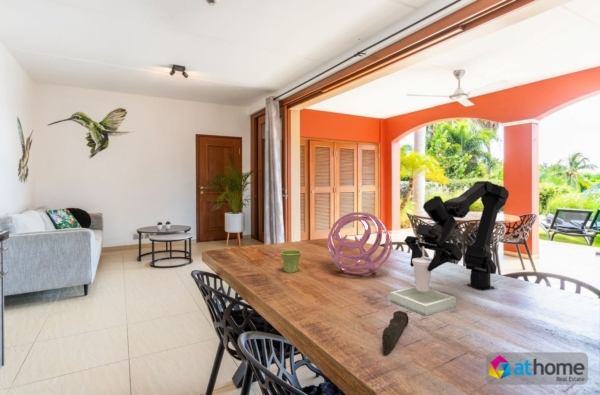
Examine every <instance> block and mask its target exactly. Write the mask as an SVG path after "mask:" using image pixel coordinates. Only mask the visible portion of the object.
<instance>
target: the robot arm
mask: <svg viewBox="0 0 600 395" xmlns="http://www.w3.org/2000/svg"><path fill="white" fill-rule="evenodd" d="M509 193H510V192H509V190H507V188H506V187H505V186H501V185H498V184H496V183H493V182H491V181H489V180H484V181H483V180H481V181H479V180H478V181H475V182H474V183H473V185H471V187H469V188H468V189H467V190H466V191H464V192H463V193H461V194H460V195H459V196H457V197H453V198H449V199H447V200H445V201H443V198H442V197H441V196H440V195H438V196H437V195H435V196H434V197H433V198H430V199H428V200H427V201H426V202H424V203H423V204H422V205H423V207H422V209H423V210H424V211H425V212H426V214H427V216H428V217H429V218H430V220H432V221H433V222H435V223H434V224H433V225H430V224H422V223H418V225H417V228H416V231H415V234H417V235H420V236H421V239H422V240H423V241H421V240H420V239H419V238H418V236H414V235H413V236H412V235H407V236H406V238H405V239H404V243H405V244H406V245H407V248H409V249H410V250H411V257H410V267H413V268H414V266H413V263H412V259H414V258H423V246H424V250H425V249H426V250H430V251H434V252H435V253H434V256H433V258H431V260H432V261H431V263H430V264H429V267H428V271H431V272H432V271H433V270H435V269H436V268H438V267H440V266H442V265H445V264H446V263H448V262H452V261H458V262H461V260H462V258H463V259H464V265H465V268H466V269H467V270H470V275H469V276H470V278H469V280H470V282H469V283H467V285H466V286H468V287H471V288H474V289H476V290H480V291H485V290H490V289H492V290H493V289H495V286H492V285H491V274H493V275H494V274H495V273H496V271H497V265H496V264H495V262H494V260H493V258H492V257H493V253H492V250H491V248H490V245H491V240H492V236H493V233H494V229H495V224H496V221H497V216H498V215H499V214H498V213H499V211H500V210H501V209H502V208H503V207H504V206H505V205H506V203H507V200H508V198H509V196H510V194H509ZM479 199H480V201H481V204H482V206H483V208H482V212H481V215H480V220H479V223H478V227H477V232H476V233H475V234H476V235H475V239H474V242H473V243H472V244H467V246H466V247H465V249H466V250H465V252H464V256H463V251H462V250H461V249H460V247H459V246H458V244H457V243H455V242H450V241H451V237H450V236H451V234H452V232H453V231H454V230H459V229H460V226H459V223H458V221H457V220H456V219H463V218H465V217H466V216H467V215H468V213H469V212H470V211H471V210H470V209H471V208H470V207H471V206H472V205H473V204H475V203H476V202H477V201H478V200H479Z"/></svg>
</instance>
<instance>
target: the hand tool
mask: <svg viewBox="0 0 600 395" xmlns="http://www.w3.org/2000/svg"><path fill="white" fill-rule="evenodd" d="M392 316H393V317H392V318H390V319H389V324H388V326H386V327H385V328H384V329H383V330H382V336H381V341H382V342H381V344H382V351H383V353H382V354H383V355H384V356H386V355H388V354H389V353H391V352H392V351H393V349H394V348H395V346H396V342H397V340H398V338H399V337H400V336H401V333H402V332H403V330H404V328H405V326H408V324H409V320H410V319H409V315H408V313H406V311H405V312H404V311H403V310H396V311H394V312H393V313H392Z"/></svg>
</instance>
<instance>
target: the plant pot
mask: <svg viewBox="0 0 600 395" xmlns="http://www.w3.org/2000/svg"><path fill="white" fill-rule="evenodd" d="M301 254H302V251H300V250H297V249H290V250H289V249H288V250H282V251H280V255H281V257H282V258H281V259H282V263H283V269H284V272H286V273H288V274H289V273H291V274H293V273H296V272H299V265H300V264H299V263H300V257H301Z"/></svg>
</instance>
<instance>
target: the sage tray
mask: <svg viewBox="0 0 600 395" xmlns="http://www.w3.org/2000/svg"><path fill="white" fill-rule="evenodd" d="M389 297H390V298H389V299H390V300H389V301H390V302H391V303H394V304H395V305H398V306H401V307H403V308H405V309H407V310H409V311H412V312H415V313H417V314H420V315H422V316H424V317H427V316H431V315H434V314H438V313H440V312H443V311H447V310H449V309H453V308H456V300H457V299H456V296H454V295H450V294H447V293H443V292H441V291H437V290H434V289H432V288H429V291H426V292H423V291H418V290H417V289H416V285H415V286H411V287H407V288H403V289H399V290H394V291H390V292H389Z"/></svg>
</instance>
